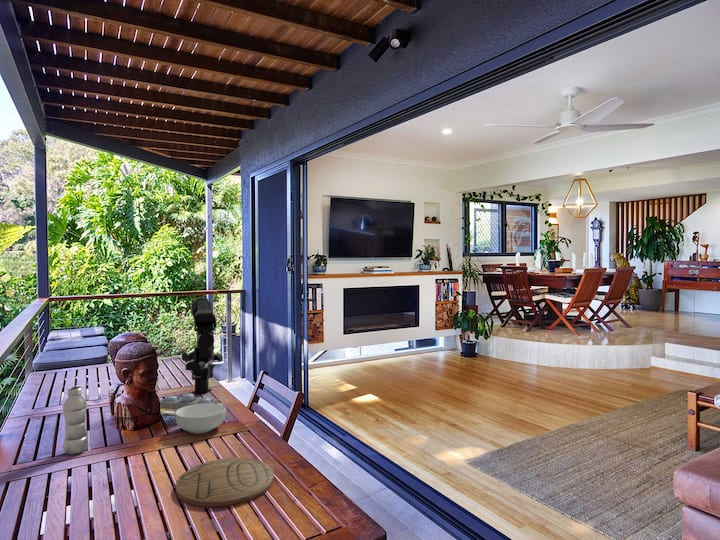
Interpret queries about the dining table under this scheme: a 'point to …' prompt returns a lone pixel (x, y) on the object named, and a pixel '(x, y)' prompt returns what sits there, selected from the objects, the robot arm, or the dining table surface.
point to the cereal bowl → (200, 417)
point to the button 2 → (188, 398)
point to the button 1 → (171, 398)
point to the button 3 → (205, 400)
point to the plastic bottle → (75, 422)
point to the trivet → (224, 482)
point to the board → (178, 405)
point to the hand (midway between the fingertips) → (205, 383)
